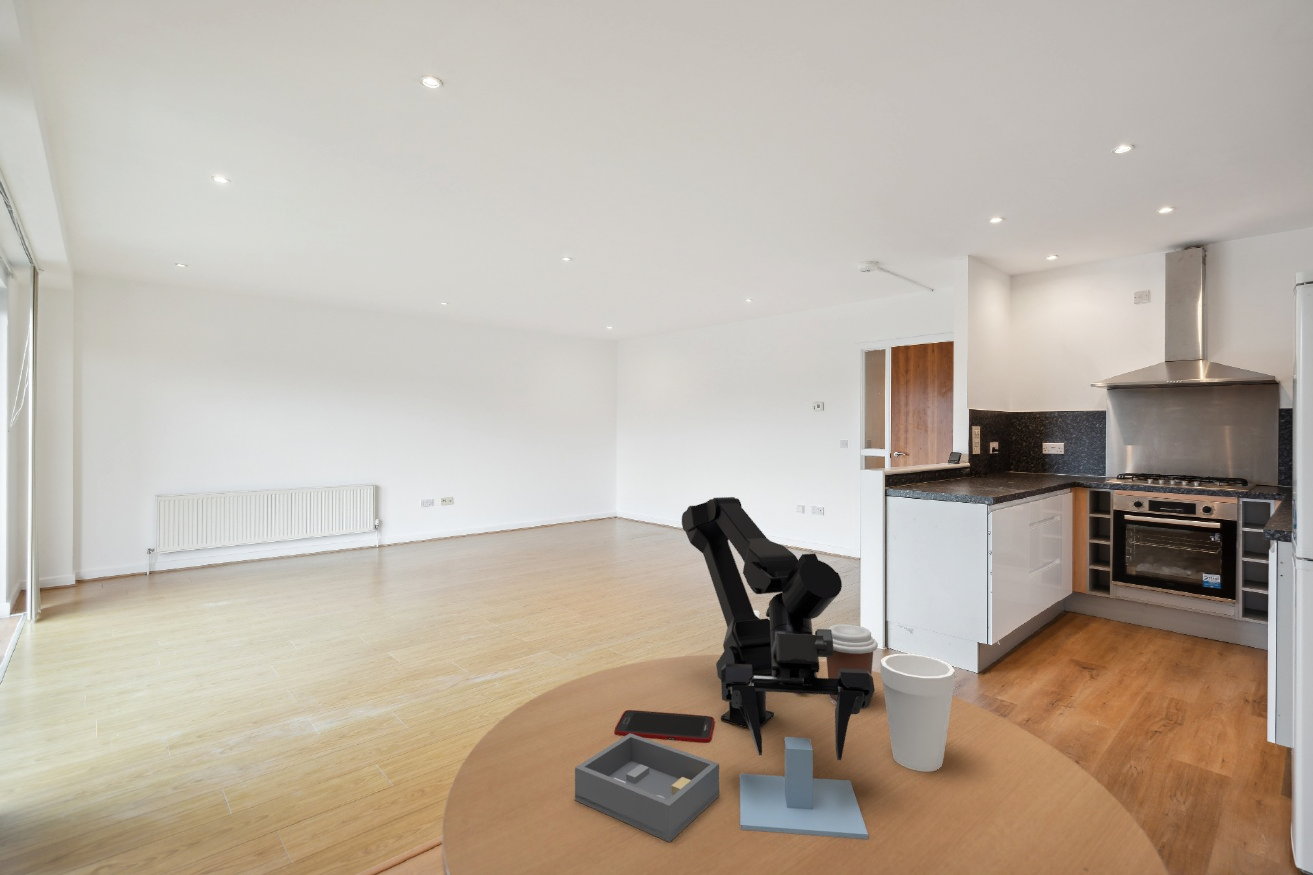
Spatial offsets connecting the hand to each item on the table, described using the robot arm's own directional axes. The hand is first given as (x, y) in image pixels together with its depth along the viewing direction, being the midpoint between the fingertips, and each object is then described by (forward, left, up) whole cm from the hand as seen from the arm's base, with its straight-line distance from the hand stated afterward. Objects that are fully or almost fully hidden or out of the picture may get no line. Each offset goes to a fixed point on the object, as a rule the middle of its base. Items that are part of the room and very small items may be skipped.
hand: (799, 756), depth 74 cm
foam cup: (-21, +8, -7) cm, 24 cm away
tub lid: (-1, -1, -7) cm, 7 cm away
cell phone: (-9, -26, -7) cm, 28 cm away
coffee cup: (-35, -6, -7) cm, 36 cm away
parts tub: (+8, -17, -7) cm, 19 cm away
